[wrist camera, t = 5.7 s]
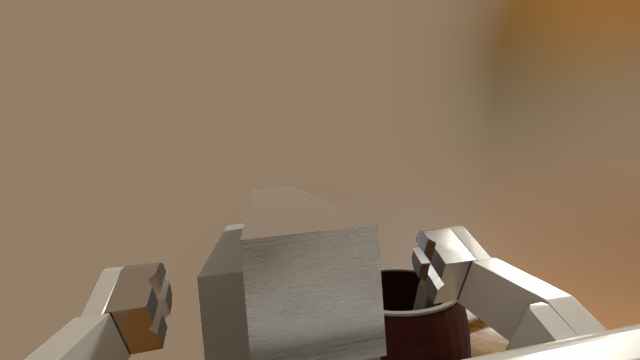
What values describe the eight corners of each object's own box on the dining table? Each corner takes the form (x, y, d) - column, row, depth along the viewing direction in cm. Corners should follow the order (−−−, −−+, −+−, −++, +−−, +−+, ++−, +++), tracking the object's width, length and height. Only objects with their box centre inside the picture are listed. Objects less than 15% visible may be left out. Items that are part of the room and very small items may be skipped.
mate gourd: (378, 534, 27) (361, 294, 26) (325, 416, 41) (312, 254, 40) (524, 469, 32) (513, 263, 31) (433, 382, 45) (424, 236, 44)
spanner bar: (294, 222, 27) (291, 185, 27) (386, 355, 8) (377, 224, 7) (257, 226, 27) (253, 188, 27) (252, 381, 7) (239, 240, 7)
